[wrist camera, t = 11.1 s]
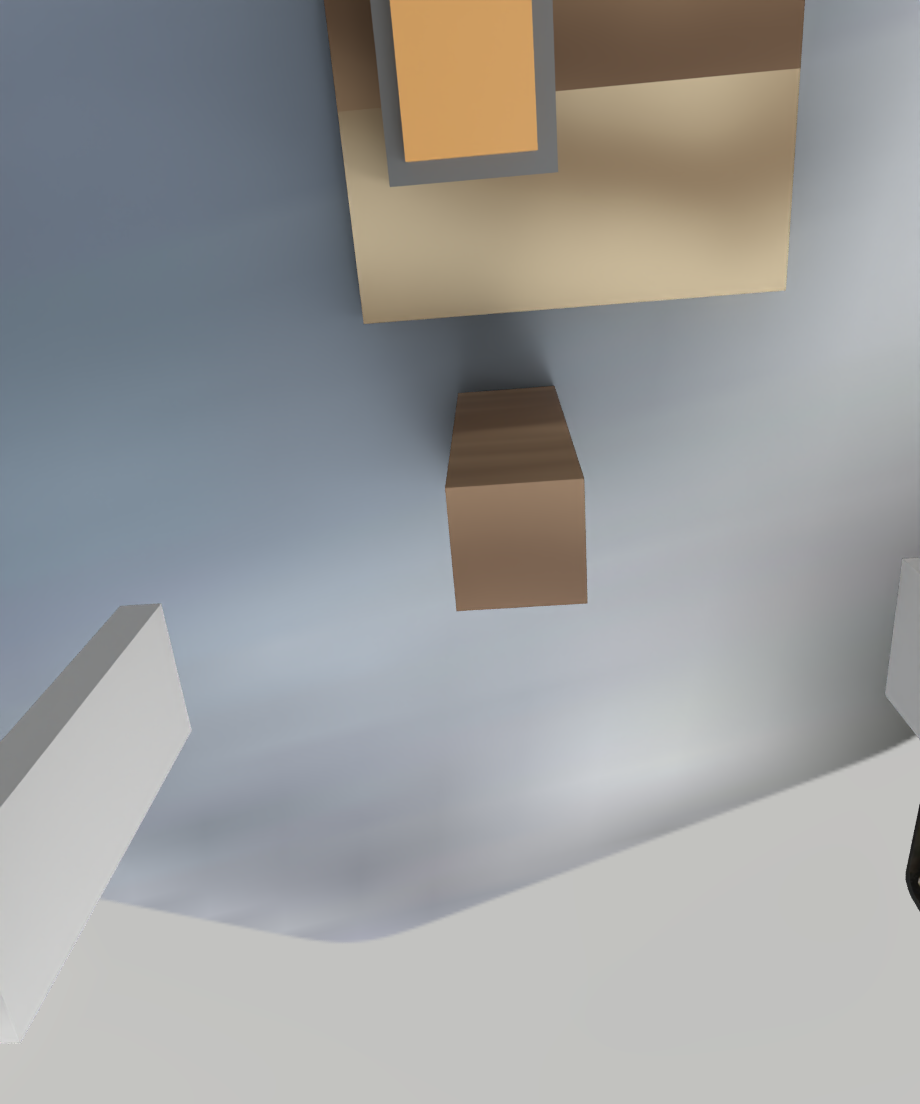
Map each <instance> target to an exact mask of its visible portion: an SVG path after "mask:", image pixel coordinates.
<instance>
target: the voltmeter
mask: <svg viewBox="0 0 920 1104" xmlns="http://www.w3.org/2000/svg"><path fill="white" fill-rule="evenodd" d="M906 883H907V887H908V890H909V893H910V895H911V897H912V899H913V901H914V902H915V904H916V906H917V907H918V909H919V911H920V805H919V811H918V816H917V820H916V825H915V830H914V835H913V840H912V844H911V849H910V854H909V859H908V864H907V869H906Z"/></svg>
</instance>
